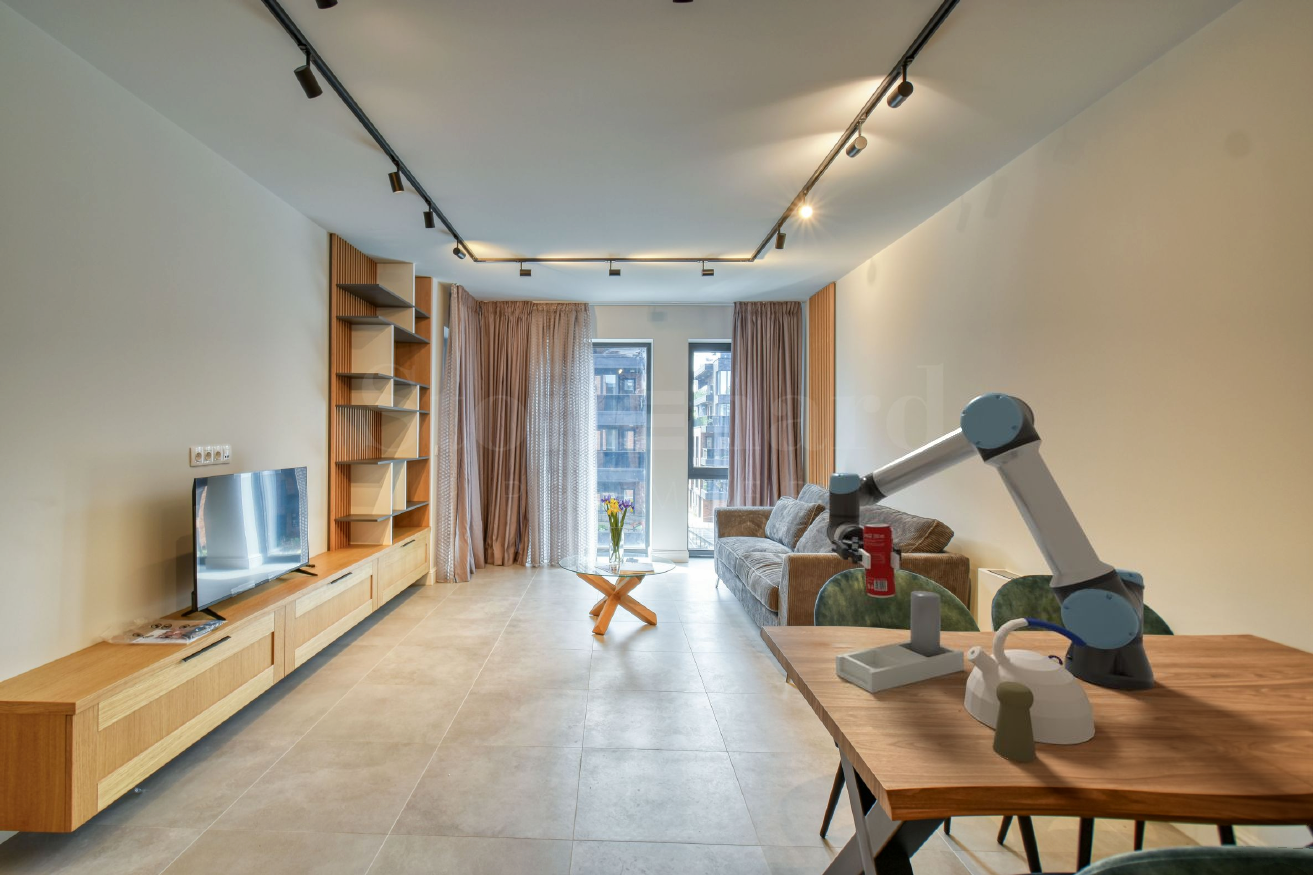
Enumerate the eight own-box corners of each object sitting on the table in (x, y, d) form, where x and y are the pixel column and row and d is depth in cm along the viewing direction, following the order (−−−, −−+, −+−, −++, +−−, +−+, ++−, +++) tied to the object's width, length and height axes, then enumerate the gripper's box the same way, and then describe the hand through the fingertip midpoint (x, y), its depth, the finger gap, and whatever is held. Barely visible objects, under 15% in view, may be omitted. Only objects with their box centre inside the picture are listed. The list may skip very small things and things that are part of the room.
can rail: (925, 654, 138) (925, 586, 137) (963, 669, 129) (964, 596, 128) (836, 674, 126) (836, 599, 126) (871, 692, 117) (872, 612, 117)
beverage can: (900, 598, 121) (901, 526, 121) (869, 599, 121) (870, 526, 121) (887, 590, 127) (887, 521, 127) (857, 591, 127) (858, 521, 127)
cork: (984, 742, 98) (985, 677, 98) (1018, 741, 99) (1019, 676, 99) (1009, 763, 92) (1009, 693, 92) (1045, 761, 93) (1046, 692, 93)
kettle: (943, 690, 118) (944, 601, 118) (1050, 693, 117) (1051, 603, 117) (996, 743, 98) (997, 636, 98) (1125, 748, 97) (1126, 638, 97)
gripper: (891, 557, 141) (928, 581, 118) (815, 555, 143) (837, 579, 119) (892, 526, 141) (929, 544, 118) (815, 524, 142) (837, 542, 119)
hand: (882, 562), depth 119 cm, fingers closed on beverage can, 5 cm apart
